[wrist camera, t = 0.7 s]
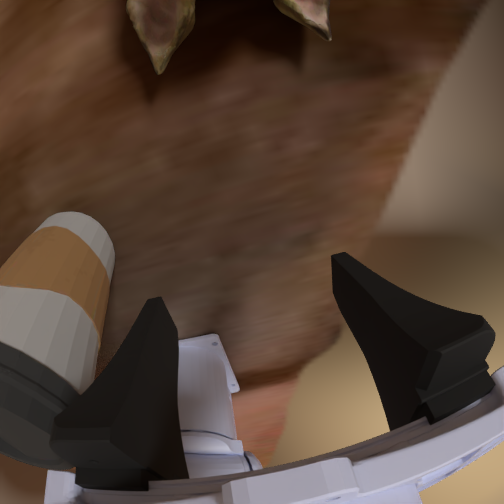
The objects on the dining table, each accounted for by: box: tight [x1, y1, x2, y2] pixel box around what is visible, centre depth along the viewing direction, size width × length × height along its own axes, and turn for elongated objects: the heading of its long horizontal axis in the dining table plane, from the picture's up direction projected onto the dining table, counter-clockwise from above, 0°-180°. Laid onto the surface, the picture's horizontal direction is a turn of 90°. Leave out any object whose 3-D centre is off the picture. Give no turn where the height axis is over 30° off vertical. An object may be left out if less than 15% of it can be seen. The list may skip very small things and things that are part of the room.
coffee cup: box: [0, 212, 115, 470], centre depth 15 cm, size 8×8×15 cm
